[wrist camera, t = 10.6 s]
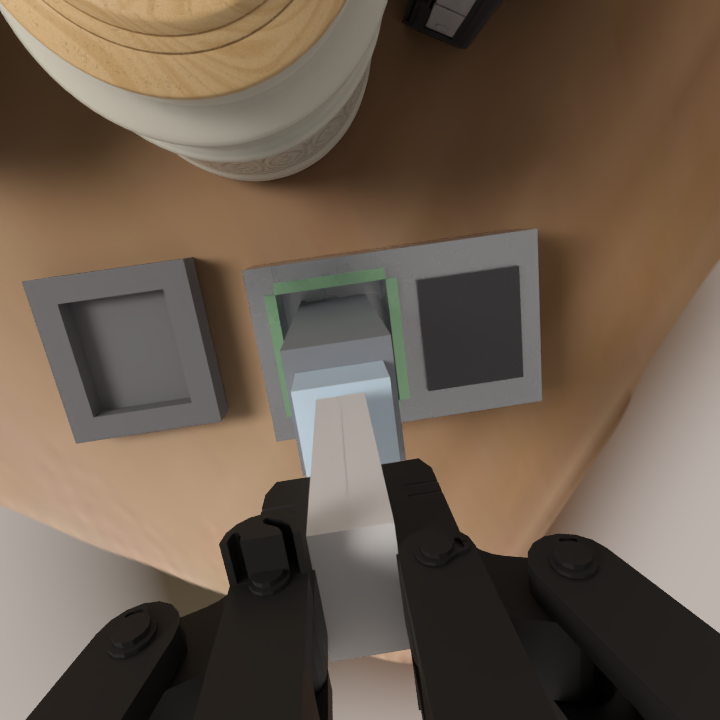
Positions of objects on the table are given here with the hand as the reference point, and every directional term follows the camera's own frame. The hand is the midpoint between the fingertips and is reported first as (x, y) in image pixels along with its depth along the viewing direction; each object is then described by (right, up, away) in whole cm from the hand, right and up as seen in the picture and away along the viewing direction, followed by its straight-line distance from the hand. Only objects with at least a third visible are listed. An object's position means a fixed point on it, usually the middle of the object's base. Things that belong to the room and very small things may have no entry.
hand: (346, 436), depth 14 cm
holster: (-13, +3, +15) cm, 20 cm away
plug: (-1, +4, +14) cm, 15 cm away
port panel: (+2, +5, +15) cm, 16 cm away
